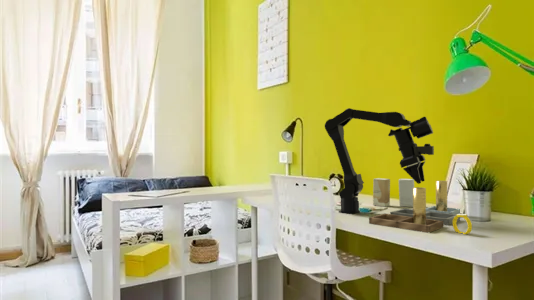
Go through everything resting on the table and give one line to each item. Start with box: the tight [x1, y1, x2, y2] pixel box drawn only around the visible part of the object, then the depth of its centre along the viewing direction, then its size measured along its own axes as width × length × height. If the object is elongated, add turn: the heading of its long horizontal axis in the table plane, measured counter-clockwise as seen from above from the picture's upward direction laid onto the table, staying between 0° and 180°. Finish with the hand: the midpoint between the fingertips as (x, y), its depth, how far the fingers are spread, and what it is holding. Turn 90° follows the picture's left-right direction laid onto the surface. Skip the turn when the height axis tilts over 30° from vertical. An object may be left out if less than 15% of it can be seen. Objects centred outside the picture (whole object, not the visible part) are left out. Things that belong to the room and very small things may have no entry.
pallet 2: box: [389, 208, 461, 226], centre depth 138 cm, size 21×11×2 cm, turn 44°
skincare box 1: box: [372, 177, 391, 208], centre depth 170 cm, size 6×4×12 cm
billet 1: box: [412, 186, 427, 225], centre depth 124 cm, size 4×4×13 cm
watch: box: [452, 213, 473, 235], centre depth 115 cm, size 6×3×6 cm, turn 20°
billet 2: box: [435, 180, 448, 212], centre depth 147 cm, size 4×4×13 cm
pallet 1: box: [368, 213, 444, 233], centre depth 128 cm, size 21×11×2 cm, turn 44°
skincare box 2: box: [398, 178, 415, 208], centre depth 168 cm, size 6×4×12 cm
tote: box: [426, 205, 461, 215], centre depth 147 cm, size 11×11×2 cm
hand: (421, 182), depth 140 cm, fingers open, 9 cm apart
